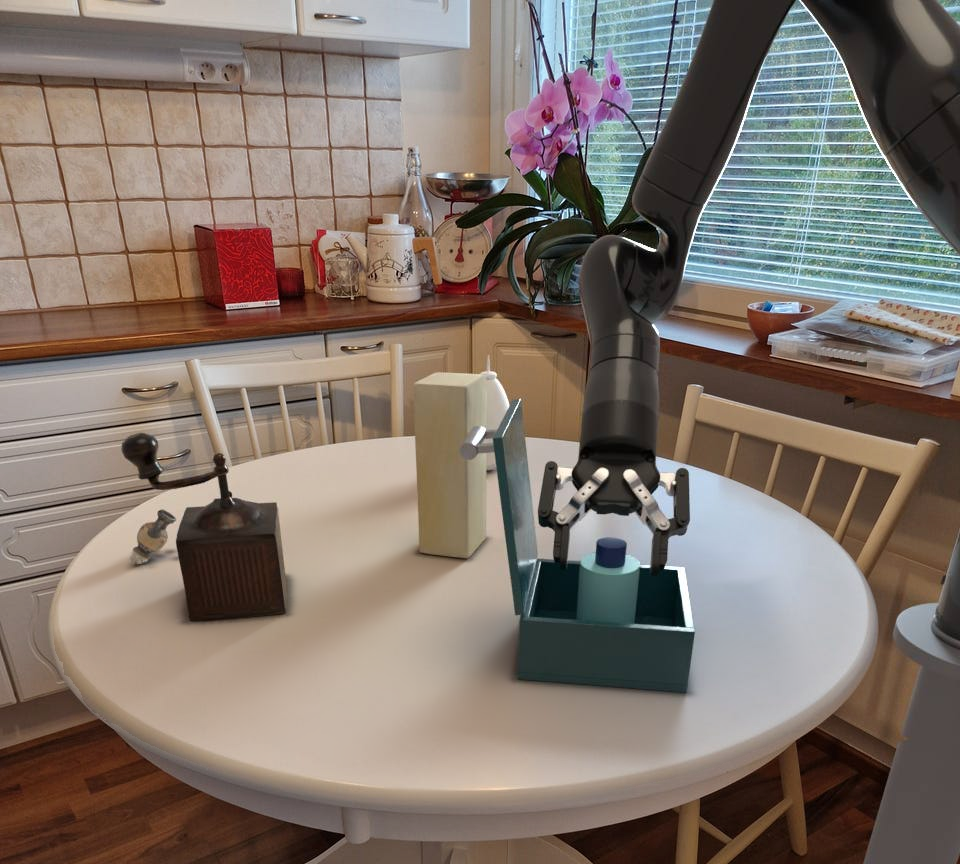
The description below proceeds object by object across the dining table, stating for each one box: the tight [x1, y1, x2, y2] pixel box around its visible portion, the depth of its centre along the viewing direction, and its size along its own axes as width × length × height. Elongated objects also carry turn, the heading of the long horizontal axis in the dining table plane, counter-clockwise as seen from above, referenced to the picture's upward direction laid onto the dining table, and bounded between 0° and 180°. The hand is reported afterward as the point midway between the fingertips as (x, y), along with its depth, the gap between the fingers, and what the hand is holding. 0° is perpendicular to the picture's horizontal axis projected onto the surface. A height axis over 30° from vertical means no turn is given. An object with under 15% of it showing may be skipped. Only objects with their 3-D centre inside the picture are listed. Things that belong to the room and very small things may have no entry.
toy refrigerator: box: [412, 371, 487, 559], centre depth 104 cm, size 8×7×21 cm
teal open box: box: [517, 558, 696, 693], centre depth 84 cm, size 16×15×6 cm
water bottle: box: [576, 536, 641, 624], centre depth 81 cm, size 6×6×11 cm
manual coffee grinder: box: [120, 432, 288, 622], centre depth 91 cm, size 16×11×18 cm
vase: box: [129, 508, 177, 565], centre depth 104 cm, size 5×5×6 cm
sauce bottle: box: [479, 354, 510, 471], centre depth 135 cm, size 8×8×18 cm
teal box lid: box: [460, 398, 539, 616], centre depth 80 cm, size 16×15×5 cm
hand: (608, 569), depth 79 cm, fingers open, 8 cm apart
